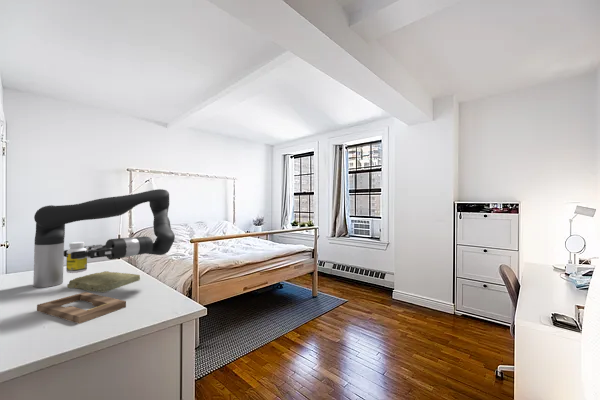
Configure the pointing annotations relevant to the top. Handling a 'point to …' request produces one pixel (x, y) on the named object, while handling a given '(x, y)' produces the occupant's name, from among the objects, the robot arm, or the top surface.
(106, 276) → the decorative tile
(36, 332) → the top surface
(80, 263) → the supplement bottle
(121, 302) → the keyhole board
